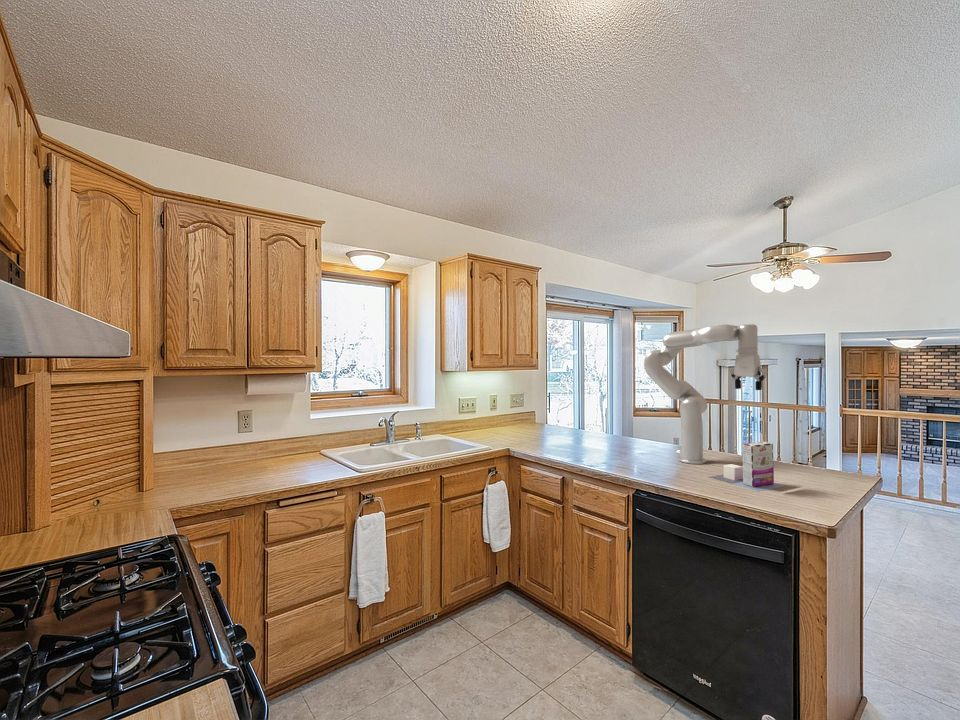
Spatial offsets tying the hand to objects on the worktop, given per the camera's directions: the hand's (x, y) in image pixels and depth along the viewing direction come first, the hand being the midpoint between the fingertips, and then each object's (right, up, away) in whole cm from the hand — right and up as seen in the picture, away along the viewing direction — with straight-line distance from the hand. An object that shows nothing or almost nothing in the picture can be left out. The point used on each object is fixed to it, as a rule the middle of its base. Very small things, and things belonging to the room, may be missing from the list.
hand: (748, 389), depth 205 cm
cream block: (-16, -36, -16) cm, 43 cm away
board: (-14, -37, -21) cm, 45 cm away
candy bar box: (-12, -36, -26) cm, 46 cm away
